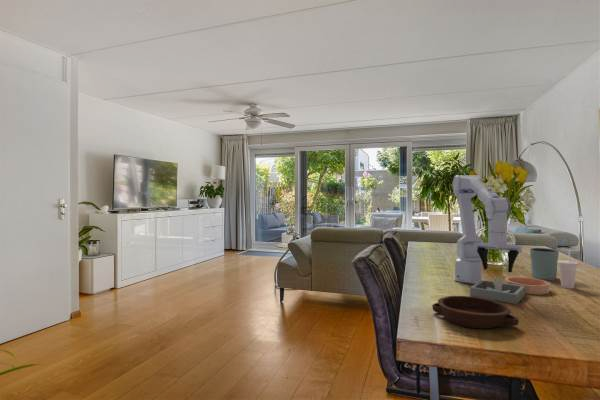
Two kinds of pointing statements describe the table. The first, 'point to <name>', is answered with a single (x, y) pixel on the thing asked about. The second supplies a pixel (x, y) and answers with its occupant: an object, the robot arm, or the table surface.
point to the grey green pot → (544, 263)
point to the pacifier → (498, 285)
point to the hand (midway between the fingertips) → (497, 270)
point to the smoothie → (567, 272)
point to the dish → (474, 312)
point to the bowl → (530, 284)
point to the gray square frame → (498, 292)
